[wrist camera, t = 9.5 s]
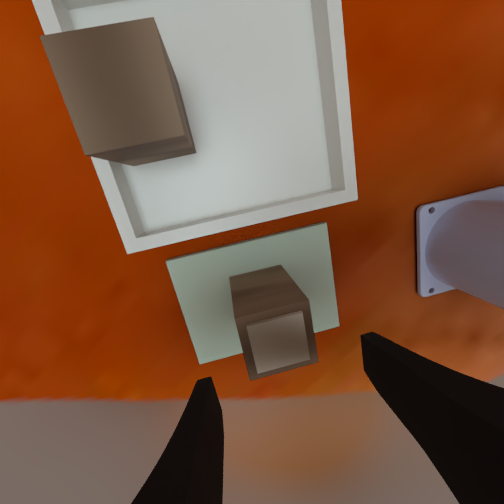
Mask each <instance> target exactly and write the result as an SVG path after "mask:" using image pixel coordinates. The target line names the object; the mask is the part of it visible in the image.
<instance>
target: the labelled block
mask: <svg viewBox="0 0 504 504" xmlns="http://www.w3.org/2000/svg"><path fill="white" fill-rule="evenodd" d="M229 281H230V288H231V296H232V304H233V311H234V319H235V323H236V327H237V331H238V335H239V339H240V343H241V347H242V351H243V355H244V359H245V363H246V366H247V370H248V374H249V378H250V381H251V380H255V379H258V378H262V377H266V376H269V375H273V374H277V373H280V372H284V371H287V370H291V369H295V368H298V367H302V366H306V365H309V364H313V363H317V362H318V356H317V349H316V343H315V336H314V329H313V323H312V316H311V309H310V302H309V299H308V298H307V297H306V295H305V294H304V293H303V292H302V290H301V289H300V288H299V287H298V285H297V284H296V283H295V282H294V280H293V279H292V278H291V277H290V275H289V274H288V273H287V272H286V270H285V269H284V268H283V267H282V265H276V266H272V267H268V268H264V269H260V270H256V271H252V272H247V273H243V274H239V275H235V276H231V277H229Z"/></svg>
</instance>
